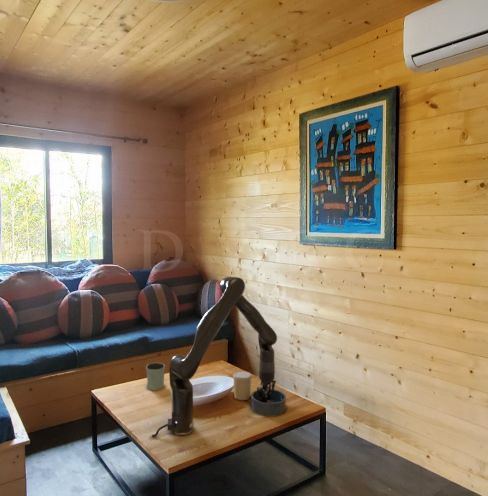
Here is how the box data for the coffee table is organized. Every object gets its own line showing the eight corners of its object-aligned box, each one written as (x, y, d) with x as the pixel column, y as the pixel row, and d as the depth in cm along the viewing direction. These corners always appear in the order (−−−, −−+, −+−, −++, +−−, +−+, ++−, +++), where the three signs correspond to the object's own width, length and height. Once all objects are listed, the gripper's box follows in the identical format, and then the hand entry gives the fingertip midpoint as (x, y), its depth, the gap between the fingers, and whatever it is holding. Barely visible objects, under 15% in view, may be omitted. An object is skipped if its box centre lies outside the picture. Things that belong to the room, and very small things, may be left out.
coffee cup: (251, 393, 224) (251, 371, 223) (250, 401, 215) (251, 378, 213) (233, 392, 225) (234, 370, 224) (232, 400, 215) (232, 377, 214)
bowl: (254, 416, 199) (254, 404, 198) (248, 400, 215) (248, 389, 215) (289, 415, 201) (289, 402, 200) (280, 399, 217) (281, 388, 217)
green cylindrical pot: (159, 381, 238) (158, 361, 236) (168, 387, 230) (168, 366, 229) (142, 386, 231) (142, 365, 230) (152, 392, 223) (152, 370, 222)
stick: (257, 402, 211) (257, 397, 211) (260, 400, 213) (260, 396, 212) (272, 407, 205) (272, 402, 205) (275, 406, 207) (275, 401, 207)
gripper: (268, 363, 215) (267, 396, 217) (252, 371, 204) (251, 405, 206) (281, 366, 210) (280, 400, 212) (265, 375, 199) (264, 410, 201)
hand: (266, 403), depth 209 cm, fingers closed on stick, 2 cm apart
